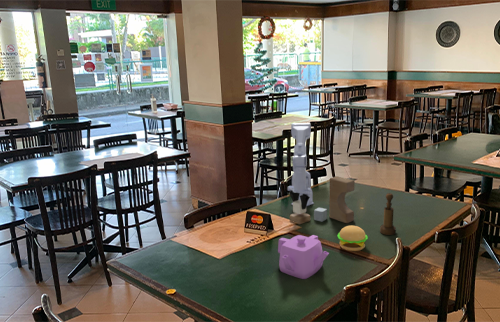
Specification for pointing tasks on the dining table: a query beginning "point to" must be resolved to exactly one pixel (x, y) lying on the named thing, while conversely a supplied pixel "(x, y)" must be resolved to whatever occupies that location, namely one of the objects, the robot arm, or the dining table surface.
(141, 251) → the dining table surface
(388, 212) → the brown wooden tall piece
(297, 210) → the cream block
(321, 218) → the slate block
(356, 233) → the hamburger
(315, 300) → the dining table surface
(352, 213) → the decorative block
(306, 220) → the walnut slab
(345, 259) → the dining table surface
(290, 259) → the teakettle
